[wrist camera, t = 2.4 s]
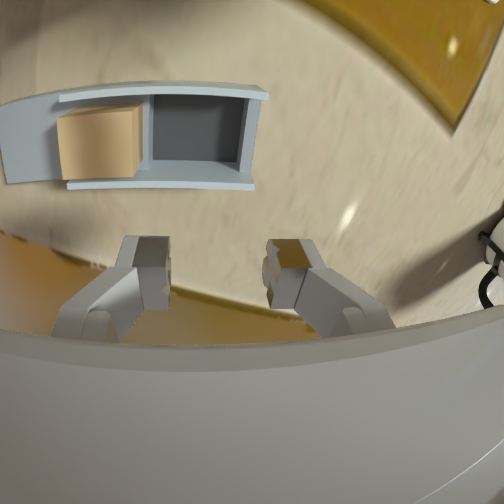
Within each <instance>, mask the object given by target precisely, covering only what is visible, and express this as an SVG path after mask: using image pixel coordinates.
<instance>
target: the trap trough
mask: <svg viewBox="0 0 504 504" xmlns="http://www.w3.org/2000/svg"><path fill="white" fill-rule="evenodd" d="M261 100H269V92H267V91H265V90H263V89H262V88H260V87H258V86H253V85H244V84H233V83H221V82H204V81H138V82H122V83H110V84H100V85H91V86H83V87H76V88H70V89H63V90H58V91H52V92H47V93H42V94H38V95H33V96H29V97H24V98H20V99H16V100H13V101H10V102H8V103H5V104H3V105H1V106H0V147H1V154H2V160H3V165H4V171H5V176H6V181H7V184H10V183H19V182H29V181H40V180H52V179H63V176H62V169H61V161H60V153H59V143H58V131H57V118H58V117H60V116H62V115H64V114H66V113H68V112H70V111H71V110H73V109H75V108H79V107H87V106H97V105H108V104H123V103H143V159H142V161H141V163H140V165H139V167H138V169H137V171H136V173H135V175H134V177H118V178H90V179H71V180H69V181H68V183H67V189H68V190H76V189H103V188H198V189H227V190H248V191H254V188H255V183H254V180H253V178H252V175H251V166H252V159H253V152H254V146H255V139H256V132H257V126H258V119H259V113H260V106H261Z"/></svg>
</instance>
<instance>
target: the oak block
mask: <svg viewBox="0 0 504 504" xmlns="http://www.w3.org/2000/svg"><path fill="white" fill-rule="evenodd" d="M57 131H58V143H59V153H60V161H61V169H62V176H63V180H71V179H90V178H118V177H134V175H135V173H136V171H137V169H138V167H139V165H140V163H141V161H142V159H143V103H123V104H108V105H97V106H87V107H79V108H75V109H73V110H71V111H70V112H68V113H66V114H64V115H62V116H60V117H58V118H57Z"/></svg>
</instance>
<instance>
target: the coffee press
mask: <svg viewBox="0 0 504 504" xmlns="http://www.w3.org/2000/svg"><path fill="white" fill-rule="evenodd" d="M478 239H479V241H481V242H483V243H485V244H486V245H487V247H486V257H485V258H484V262H485V263H486V264H491V266H492V268H491V269H490V270H489V271H488V273H487V274H486V275H485V276H484V277H483V279H482V280H481V282H480V285H479V291H478V292H479V298H480V302H481V304H482V306H483V307H484V309H487V308H491V307H494V306H493V304H492V303H491V301H490V300H489V298H488V297H487V287H488V285H489V284H490V282H491V281H492V280H493V279H494V278H495V277H496V276H497V275H498V276H499V277H501V278H502V279H503V280H504V218H503V219H502V220H501V221H500V222H499V223H498V225H497V226H496V227H495V229H494V230H493V232H492V234H487V233H485V232H480V235H479V237H478Z"/></svg>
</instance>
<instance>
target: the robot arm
mask: <svg viewBox="0 0 504 504" xmlns="http://www.w3.org/2000/svg"><path fill="white" fill-rule="evenodd" d="M486 1H488V2H489V3H497V2H498V1H499V0H486ZM170 248H171V246H170V236H139V235H126V236H125V237H124V239H123V242H122V245H121V248H120V251H119V254H118V257H117V261H116V264H115V267H109V268H108V269H107V270H106V271H104V272H103V273H102V274H100V275H99V276H98V277H97V278H95V279H94V280H93V281H92V282H90V283H89V284H88V285H87V286H85V287H84V288H83V289H82V290H80V291H79V292H78V293H77V294H76V295H74V296H73V297H72V298H71V299H70V300H68V301H67V302H66V303H65V304H64V305H62V306H61V308H60V311H59V313H58V316H57V319H56V322H55V325H54V328H53V331H52V334H51V337H48V336H41V335H34V334H27V333H21V332H15V331H9V330H3V329H0V504H504V305H497V306H494V307H491V308H487V309H483V310H479V311H475V312H471V313H467V314H463V315H459V316H454V317H450V318H445V319H441V320H436V321H431V322H426V323H421V324H416V325H411V326H405V327H399V328H396V327H395V325H394V323H393V321H392V319H391V318H390V316H389V314H388V312H387V310H386V309H385V307H384V305H383V304H382V303H381V302H380V301H378V300H377V299H375V298H374V297H372V296H371V295H369V294H368V293H367V292H365V291H364V290H362V289H361V288H359V287H358V286H356V285H355V284H353V283H352V282H351V281H349V280H348V279H346V278H345V277H343V276H342V275H340V274H339V273H337V272H336V271H334V270H333V269H331V268H327V267H326V265H325V263H324V261H323V259H322V258H321V256H320V254H319V252H318V250H317V248H316V246H315V244H314V243H313V241H312V240H311V239H268V242H267V245H266V251H267V256H266V257H265V258H264V260H263V265H262V278H263V283H264V286H266V287H267V288H268V290H267V294H266V295H267V299H268V302H269V306H270V309H294V310H295V311H296V312H297V313H298V314H299V315H300V316H301V317H302V318H303V319H304V320H305V321H306V322H307V323H308V324H309V325H310V326H311V327H312V328H313V329H314V330H315V331H316V332H317V333H318V334H319V335H320V336H321V337H322V338H319V339H309V340H298V341H286V342H270V343H254V344H232V345H231V344H230V345H151V344H150V345H149V344H128V343H127V344H126V343H120V341H121V339H122V338H123V337H124V336H125V334H126V333H127V332H128V331H129V329H130V328H131V326H133V324H134V323H135V322H136V321H137V319H138V318H139V317H140V316H141V314H142V313H143V312H144V310H169V302H170V285H171V257H170Z"/></svg>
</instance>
